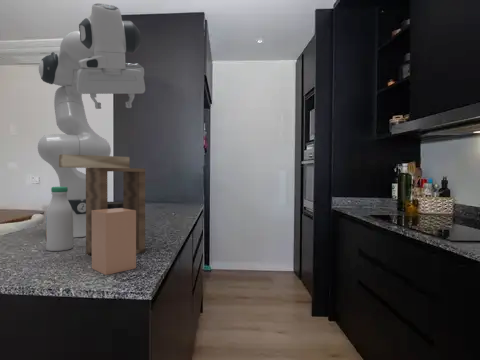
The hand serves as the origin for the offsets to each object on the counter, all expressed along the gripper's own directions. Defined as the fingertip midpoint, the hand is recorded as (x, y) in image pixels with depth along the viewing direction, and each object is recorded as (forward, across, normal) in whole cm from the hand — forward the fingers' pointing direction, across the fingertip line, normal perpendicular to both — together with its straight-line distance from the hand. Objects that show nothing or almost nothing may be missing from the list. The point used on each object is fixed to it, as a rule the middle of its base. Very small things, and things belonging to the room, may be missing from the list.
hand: (113, 108), depth 107 cm
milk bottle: (+44, +21, +4) cm, 49 cm away
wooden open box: (+41, +7, +19) cm, 46 cm away
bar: (+15, +9, +13) cm, 22 cm away
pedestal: (+36, +11, +35) cm, 51 cm away
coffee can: (+46, +5, +3) cm, 47 cm away
